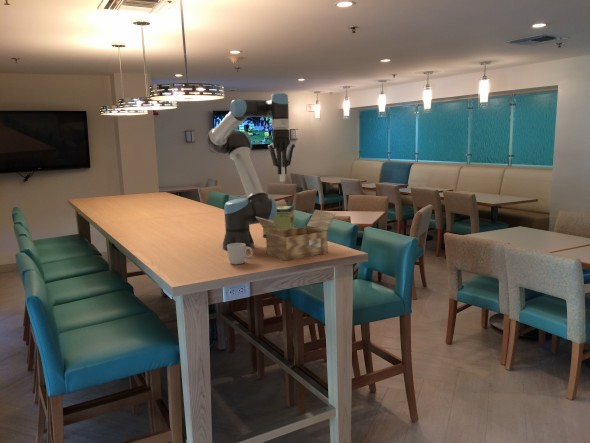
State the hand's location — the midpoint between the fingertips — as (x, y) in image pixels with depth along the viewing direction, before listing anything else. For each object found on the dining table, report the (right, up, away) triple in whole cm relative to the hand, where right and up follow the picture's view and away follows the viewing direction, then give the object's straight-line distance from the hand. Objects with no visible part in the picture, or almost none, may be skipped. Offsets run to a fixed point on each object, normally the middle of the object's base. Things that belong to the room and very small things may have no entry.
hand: (282, 181), depth 218 cm
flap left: (-3, -24, -8) cm, 25 cm away
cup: (-17, -36, -15) cm, 43 cm away
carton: (+7, -33, -1) cm, 33 cm away
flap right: (+15, -22, +3) cm, 27 cm away
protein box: (-3, -26, +42) cm, 50 cm away
